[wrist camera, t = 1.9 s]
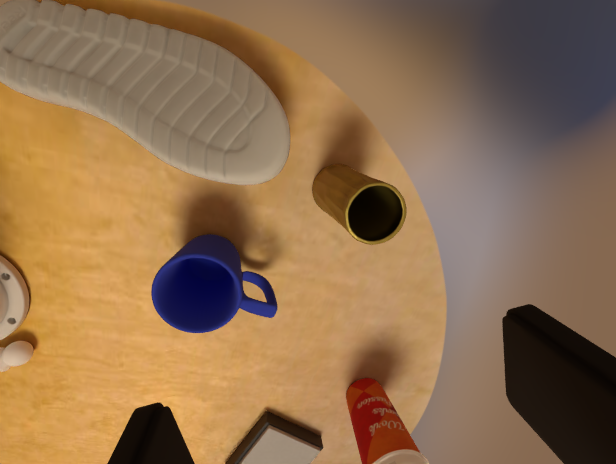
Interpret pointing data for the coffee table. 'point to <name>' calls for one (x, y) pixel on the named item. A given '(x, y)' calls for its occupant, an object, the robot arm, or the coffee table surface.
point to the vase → (360, 203)
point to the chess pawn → (15, 354)
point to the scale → (277, 443)
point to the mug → (207, 287)
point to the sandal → (148, 87)
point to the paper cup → (379, 426)
